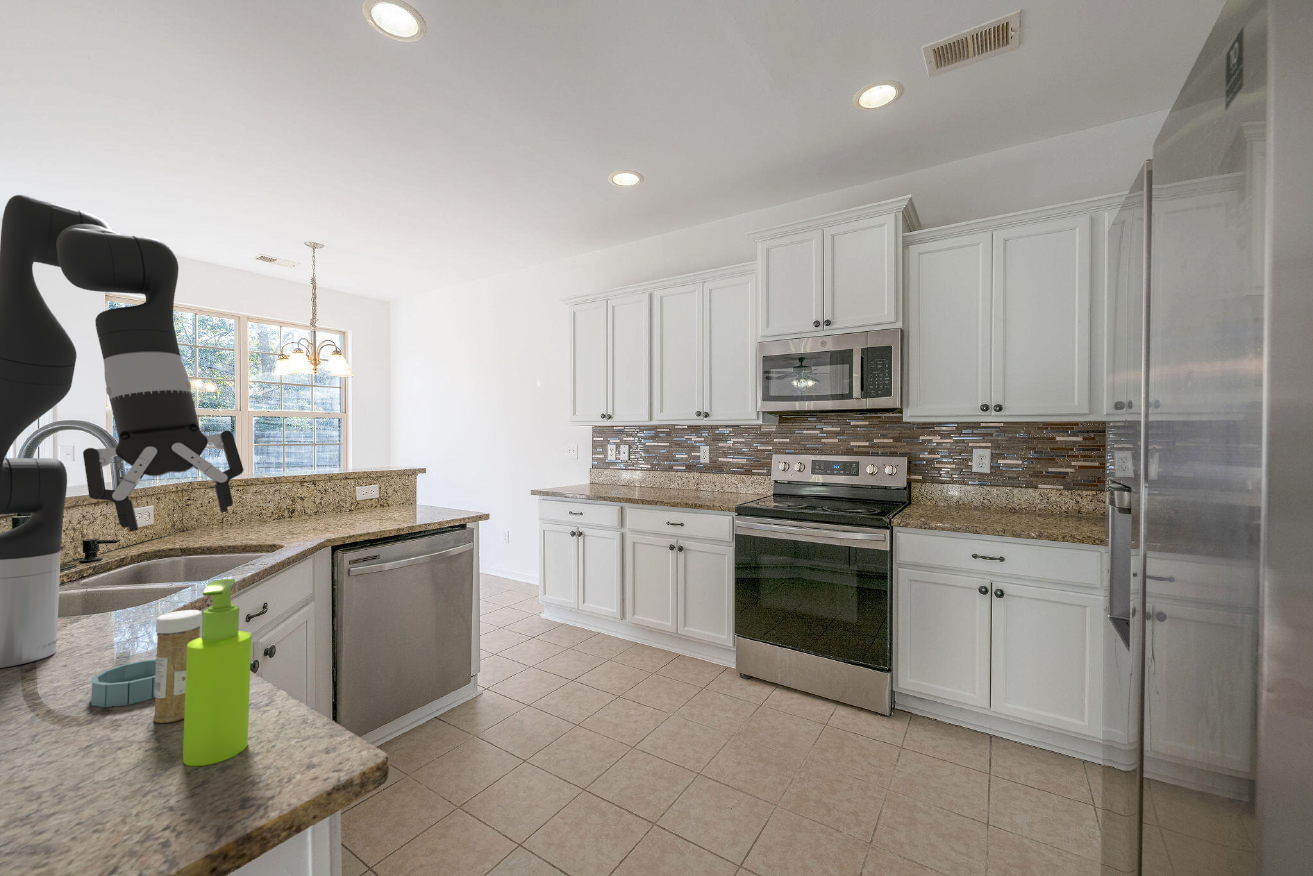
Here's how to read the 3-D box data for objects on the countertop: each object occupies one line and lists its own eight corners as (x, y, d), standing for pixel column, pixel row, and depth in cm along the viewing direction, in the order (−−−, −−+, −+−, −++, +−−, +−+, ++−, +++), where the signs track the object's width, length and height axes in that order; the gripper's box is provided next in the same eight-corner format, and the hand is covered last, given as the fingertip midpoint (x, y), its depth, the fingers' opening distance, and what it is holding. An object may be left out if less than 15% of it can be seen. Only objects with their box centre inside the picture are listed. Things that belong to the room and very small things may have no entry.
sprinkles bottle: (195, 718, 70) (199, 615, 71) (148, 728, 68) (152, 621, 68) (201, 704, 74) (204, 606, 74) (156, 713, 72) (160, 611, 72)
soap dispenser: (171, 776, 58) (179, 590, 58) (191, 745, 64) (198, 577, 65) (239, 763, 61) (245, 585, 61) (252, 734, 67) (257, 572, 67)
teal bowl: (73, 710, 72) (74, 688, 72) (117, 682, 81) (118, 662, 81) (158, 701, 75) (159, 680, 75) (192, 675, 83) (192, 655, 83)
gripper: (222, 393, 74) (248, 507, 75) (73, 406, 65) (103, 537, 65) (225, 382, 69) (253, 506, 69) (62, 395, 59) (96, 538, 59)
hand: (181, 521), depth 67 cm, fingers open, 8 cm apart
